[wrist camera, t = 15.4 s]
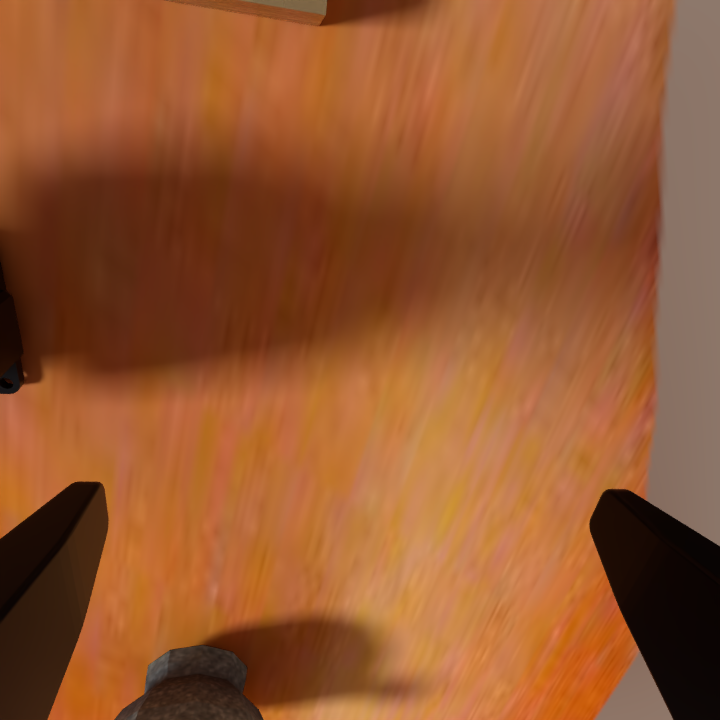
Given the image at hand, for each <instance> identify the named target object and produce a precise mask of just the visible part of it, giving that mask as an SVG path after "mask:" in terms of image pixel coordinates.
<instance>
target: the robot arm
mask: <svg viewBox="0 0 720 720" xmlns="http://www.w3.org/2000/svg"><path fill="white" fill-rule="evenodd" d="M22 354H23V347H22V342H21V337H20V332H19V327H18V321H17V316H16V311H15V306H14V301H13V297H12V295H11V294H10V293H9V292H8V291H7V290H6V287H5V282H4V277H3V272H2V267H1V262H0V394H12V393H15V392H17V391H18V390H19V389H20V388H21V386H22V385H23V384H24V375H23V370H22V365H21V360H20V356H21V355H22ZM4 378H8V379H10V380H11V381H12V382H13V384H11V383H8V382H6V381H5V379H4ZM589 525H590V532H591V535H592V538H593V541H594V543H595V546H596V549H597V551H598V554H599V556H600V559H601V562H602V564H603V567H604V570H605V572H606V575H607V578H608V580H609V583H610V586H611V588H612V591H613V593H614V596H615V599H616V601H617V603H618V606H619V608H620V611H621V613H622V615H623V617H624V619H625V621H626V624H627V626H628V628H629V630H630V632H631V634H632V636H633V638H634V640H635V642H636V644H637V646H638V648H639V650H640V652H641V654H642V656H643V658H644V660H645V662H646V665H647V667H648V668H649V671H650V673H651V675H652V677H653V679H654V681H655V683H656V685H657V687H658V689H659V691H660V693H661V695H662V697H663V699H664V701H665V703H666V705H667V708H668V710H669V712H670V714H671V716H672V718H673V720H720V546H718V545H717V544H715V543H713V542H712V541H710V540H709V539H707V538H705V537H704V536H702V535H701V534H699V533H697V532H696V531H694V530H693V529H691V528H689V527H688V526H686V525H685V524H683V523H681V522H680V521H678V520H676V519H675V518H673V517H672V516H670V515H668V514H667V513H665V512H664V511H662V510H660V509H659V508H657V507H655V506H654V505H652V504H650V503H649V502H647V501H646V500H644V499H643V498H641V497H639V496H638V495H636V494H635V493H633V492H631V491H629V490H626V489H608V490H606V491H604V492H603V493H602V495H601V497H600V499H599V501H598V504H597V506H596V508H595V510H594V512H593V514H592V516H591V519H590V523H589ZM107 531H108V512H107V504H106V497H105V489H104V486H103V484H102V483H100V482H75V483H72V484H71V485H69V486H68V487H67V488H65V489H64V490H63V491H62V492H60V493H59V494H58V495H56V496H55V497H54V498H53V499H51V500H50V501H49V502H47V503H46V504H45V505H43V506H42V507H41V508H40V509H38V510H37V511H36V512H34V513H33V514H32V515H31V516H29V517H28V518H27V519H25V520H24V521H23V522H22V523H20V524H19V525H18V526H16V527H15V528H14V529H13V530H11V531H10V532H9V533H7V534H6V535H5V536H3V537H2V538H1V539H0V720H47V719H48V716H49V714H50V711H51V709H52V706H53V703H54V701H55V698H56V696H57V693H58V690H59V688H60V685H61V683H62V680H63V677H64V675H65V672H66V670H67V667H68V664H69V662H70V659H71V656H72V654H73V651H74V649H75V646H76V643H77V641H78V638H79V635H80V632H81V629H82V627H83V623H84V620H85V616H86V613H87V609H88V605H89V601H90V597H91V594H92V590H93V586H94V582H95V578H96V574H97V570H98V567H99V563H100V559H101V555H102V551H103V547H104V543H105V540H106V536H107Z"/></svg>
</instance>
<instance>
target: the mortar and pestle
mask: <svg viewBox="0 0 720 720" xmlns="http://www.w3.org/2000/svg"><path fill="white" fill-rule="evenodd" d="M246 673H247V667H246V665H245V664H244V663H243V662H242V661H241V660H240V659H239V658H238V657H237V656H236V655H235V654H234V653H233V652H231V651H227V650H222V649H218V648H214V647H209V646H205V645H199V646H193V647H187V648H180V649H174V650H170V651H168V652H167V653H165V654H164V655H162V656H161V657H160V658H158V659H157V660H155V661H154V662H152V663H151V664H150V665H148V671H147V676H146V684H145V694H144V695H142V696H141V697H140V698H138V699H137V700H135V701H134V702H133V703H131V704H130V705H128V706H127V707H125V708H124V709H123V710H122V711H121V712H120V713H119V715H118V716H117V717H116V718H115V720H263V718H262V715H261V713H260V711H259V709H257V708H256V707H255V706H254V705H253V704H252V703H251V702H250V701H249V700H248V699H247V698H246V697H245V696H244V695H243V694H242V693H243V689H244V685H245V681H246Z"/></svg>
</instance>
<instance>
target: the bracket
mask: <svg viewBox="0 0 720 720" xmlns="http://www.w3.org/2000/svg"><path fill="white" fill-rule="evenodd" d="M166 1H171V2H177V3H183V4H189V5H195V6H201V7H207V8H213V9H219V10H225V11H230V12H236V13H242V14H248V15H254V16H260V17H266V18H272V19H278V20H284V21H289V22H295V23H301V24H307V25H313V26H319V25H320V23H321V22H322V20H323V19H324V17H325V16H326V7H327V0H166Z"/></svg>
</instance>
